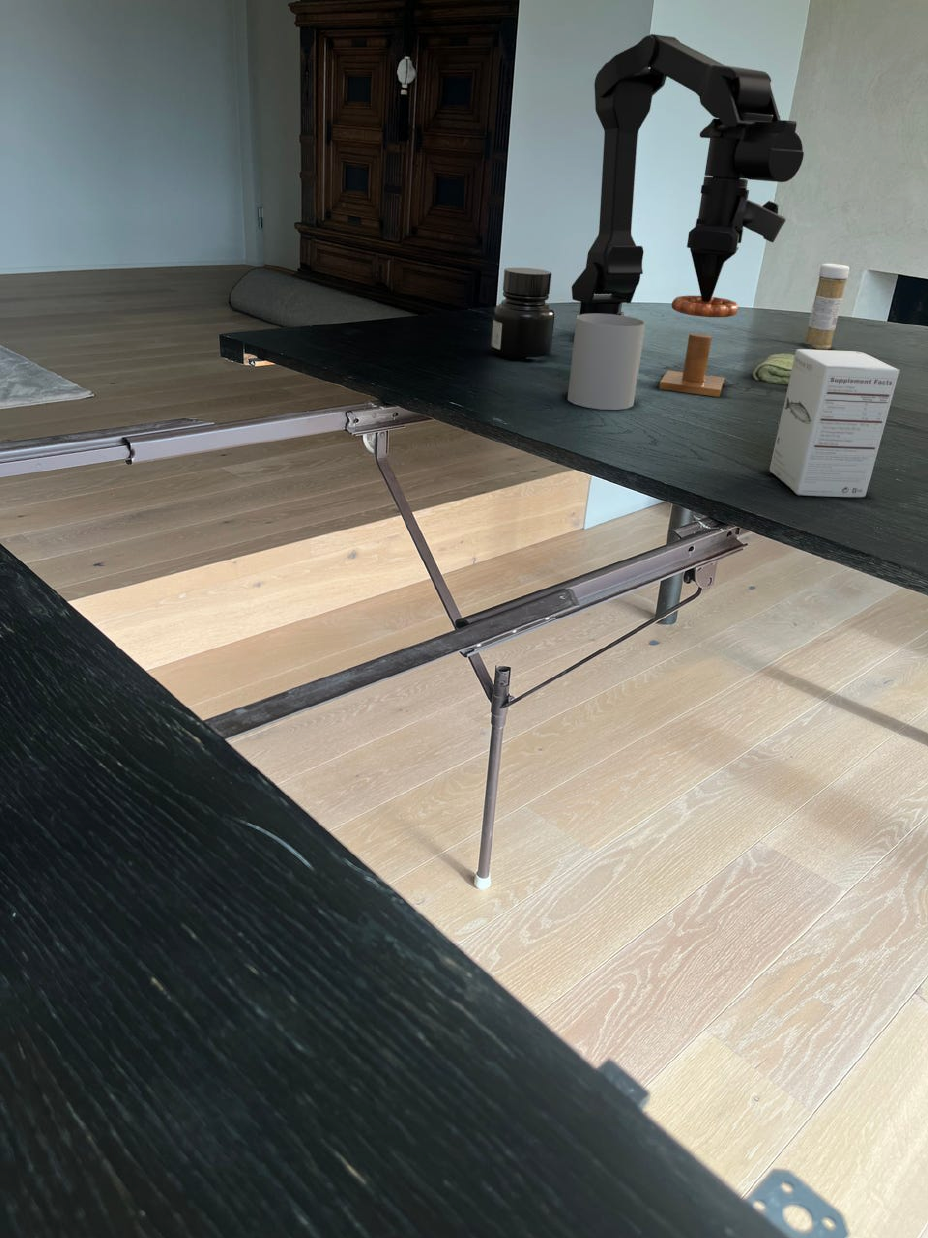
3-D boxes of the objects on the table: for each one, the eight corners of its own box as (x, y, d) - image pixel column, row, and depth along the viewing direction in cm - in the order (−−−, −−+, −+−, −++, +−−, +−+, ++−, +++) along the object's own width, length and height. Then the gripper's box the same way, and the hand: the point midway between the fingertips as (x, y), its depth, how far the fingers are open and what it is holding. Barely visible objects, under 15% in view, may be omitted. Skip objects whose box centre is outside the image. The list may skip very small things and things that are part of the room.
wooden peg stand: (659, 389, 129) (667, 335, 126) (666, 377, 136) (674, 326, 133) (719, 397, 127) (729, 343, 124) (723, 384, 134) (733, 333, 131)
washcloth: (881, 406, 128) (887, 382, 127) (748, 385, 134) (753, 361, 133) (888, 387, 139) (894, 365, 137) (764, 368, 145) (769, 347, 144)
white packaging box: (766, 471, 99) (793, 347, 93) (835, 474, 99) (866, 350, 94) (794, 496, 92) (825, 364, 86) (867, 498, 93) (903, 367, 87)
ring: (667, 313, 128) (669, 301, 127) (674, 304, 136) (676, 292, 135) (735, 320, 126) (737, 308, 125) (738, 310, 134) (740, 298, 133)
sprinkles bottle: (812, 343, 167) (831, 262, 161) (836, 349, 164) (855, 266, 158) (797, 346, 164) (815, 263, 158) (821, 351, 161) (840, 267, 155)
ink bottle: (506, 346, 148) (513, 264, 143) (559, 354, 145) (568, 271, 140) (480, 356, 141) (486, 270, 135) (535, 365, 137) (543, 277, 132)
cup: (638, 398, 123) (650, 318, 119) (627, 413, 116) (639, 329, 112) (575, 389, 126) (584, 310, 121) (560, 403, 119) (569, 320, 114)
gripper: (789, 182, 117) (764, 315, 123) (789, 180, 133) (767, 298, 140) (696, 176, 119) (677, 307, 126) (707, 175, 135) (690, 290, 142)
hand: (706, 300), depth 133 cm, fingers closed on ring, 1 cm apart
